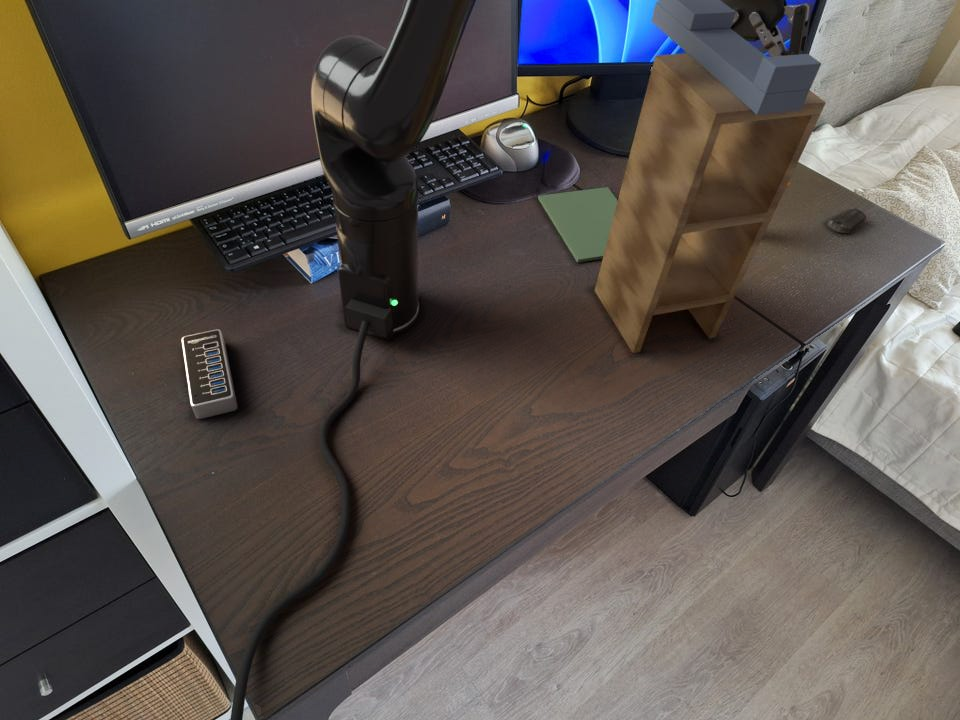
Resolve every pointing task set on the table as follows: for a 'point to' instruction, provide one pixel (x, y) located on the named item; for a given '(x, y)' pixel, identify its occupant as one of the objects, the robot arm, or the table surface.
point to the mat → (582, 220)
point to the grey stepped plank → (736, 56)
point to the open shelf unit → (695, 198)
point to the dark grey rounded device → (847, 220)
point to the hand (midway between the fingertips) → (737, 90)
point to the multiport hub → (208, 374)
